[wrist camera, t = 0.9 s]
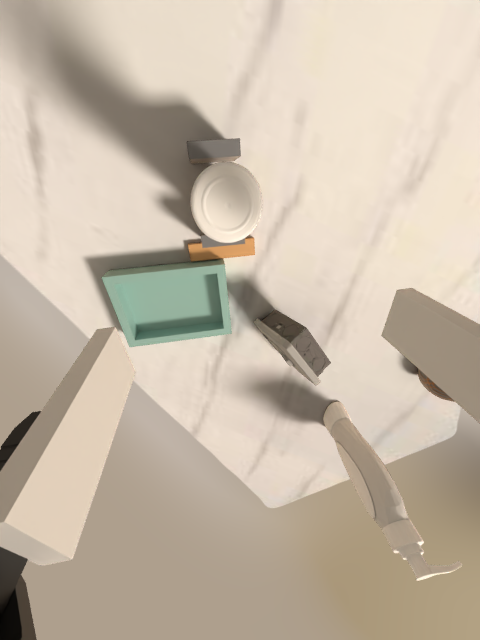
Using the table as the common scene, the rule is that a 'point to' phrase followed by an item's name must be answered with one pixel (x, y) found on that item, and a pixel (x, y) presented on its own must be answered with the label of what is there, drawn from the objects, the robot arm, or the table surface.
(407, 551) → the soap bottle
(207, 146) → the grey and orange blocks
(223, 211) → the sprinkles bottle
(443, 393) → the vase
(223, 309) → the parts tray
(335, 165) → the table surface
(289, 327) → the electrical switch
